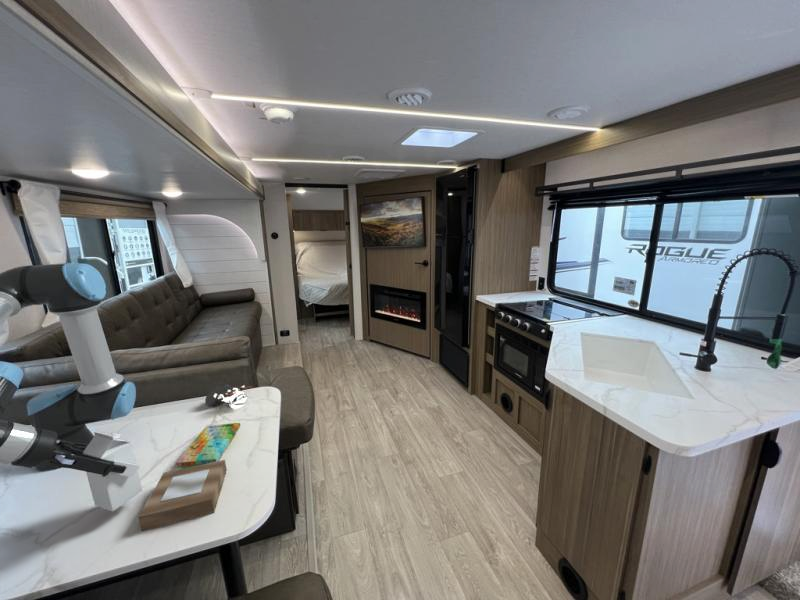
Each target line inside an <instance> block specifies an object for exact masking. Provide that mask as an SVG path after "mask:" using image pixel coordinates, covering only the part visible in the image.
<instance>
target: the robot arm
mask: <svg viewBox="0 0 800 600" xmlns="http://www.w3.org/2000/svg"><path fill="white" fill-rule="evenodd" d="M106 289H107V285H106V282H105V279H104V278H103V275H102V274H101V273H100V272H99V270H98V269H96V268H95V266H92V265H91V264H88V263H83V262H82V263H79V262H78V263H75V262H73V263H72V262H67V263H65V262H63V263H52V264H39V265H38V264H36V265H33V264H31V265H21V266H16V267H13V268H10V269H7V270H4V271H3V272H0V327H2V325H3V324H4V323H5V322H6V321H7V320H8V318H10V317H13V316H16V315H17V314H19V313H20V311H21V310H22V309H24V308H27V307H31V306H36V305H37V306H41V305H46V306H47V308H48V311H49V313H51V314H53V315H56V316H57V317H59V321H60V324H61V326H62V327H61V328H62V329H63V332H64V336H65V338H66V341H67V343H68V348H69V350H70V353H71V355H72V358H73V361H74V363H75V366H76V369H77V372H78V375H79V378H80V381H81V384H80V386H76V384H67V385H62V386H59V387H56V388H53V389H50V390H49V389H48V390H46V391H43V392H42V393H39V394H38V395H36V396H34V397H32V398H31V399H29V400H28V402H27V403H26V409H27V416H28V418H29V421H30V425H28V424H22V423H18V422H14V421H13V422H12V421H9V420H8V421H7V420H3V419H0V464H2V465H9V464H11V466H16V467H23V468H27V469H31V468H34V469H36V470H37V471H51V470H56V469H61V468H64V469H71V470H75V471H82V472H85V473H86V472H90V473H95V474H100V475H102V477H105V476H107V475H108V474H109V473H111V474H117V475H123V476H130V477H133V476H134V475H135V473H136V472H137V470H139V468H140V467H141V465H140V464H137V463H136V464H131V463H126V462H120V461H115V460H113V461H109V460H105V459H101V458H98V457H95V456H91V455H88V454H84V453H83V451H84V450H85V449H86V447H87V446H88V444H89V443H90V442H91V440H92V439H93V438H94V436H95V434H93V433H92V431H91V430H90V429H89V428H88V427H87V424H88V425H89V424H94V423H98V422H104V421H109V420H111V421H112V420H115V419H119V418H124V417H126V416H128V415H129V414H130V413H131V411H132V410H133V408H134V406H135V402H136V398H137V395H136V394H137V389H136V385H135V383H134V382H133V381H125V378H124V375H122V374H121V373H118V372H116V369H115V364H114V362H113V359H112V355H111V351H110V348H109V346H108V342H107V340H106V336H105V332H104V330H103V325H102V322H101V319H100V317H99V313H98V310H97V309H98V308H99V307H100V305H101V304H102V302H101V300H102V299H104V298H105V296H106V294H107V290H106ZM23 378H24V371H23V370H22V368H21V367H19V366H18V365H16V364H15V363H11V362H7V361H1V360H0V418H1V417H2V415H3V414H4V412H5V410H6V408H7V407H8V405H9V404H10V402H11V400H12V399H13V397H14V395H15V393H16V392H17V391H18V389H19V385H20V383H21V382H22V380H23Z"/></svg>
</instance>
